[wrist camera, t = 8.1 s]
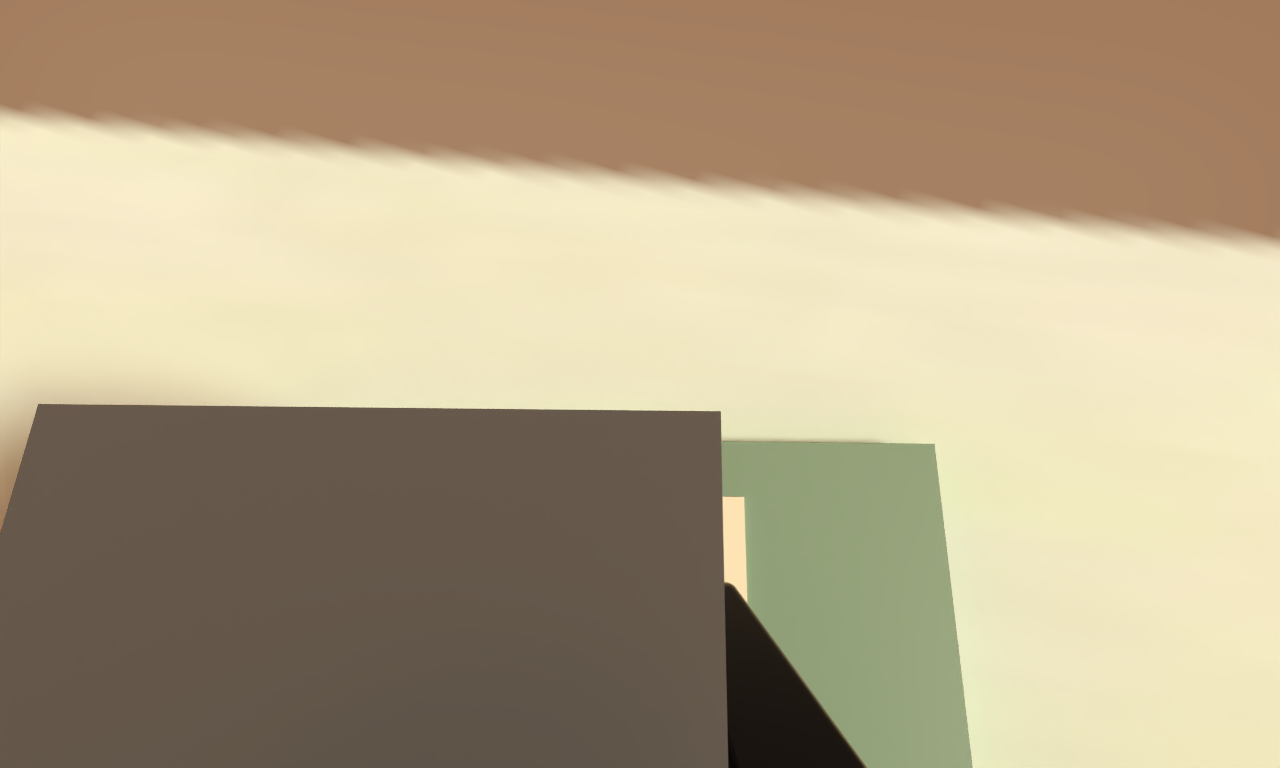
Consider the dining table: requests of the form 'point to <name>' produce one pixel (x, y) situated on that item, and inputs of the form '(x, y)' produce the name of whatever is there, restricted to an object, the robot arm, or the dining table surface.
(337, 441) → the plug block
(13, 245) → the dining table surface
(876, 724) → the board
